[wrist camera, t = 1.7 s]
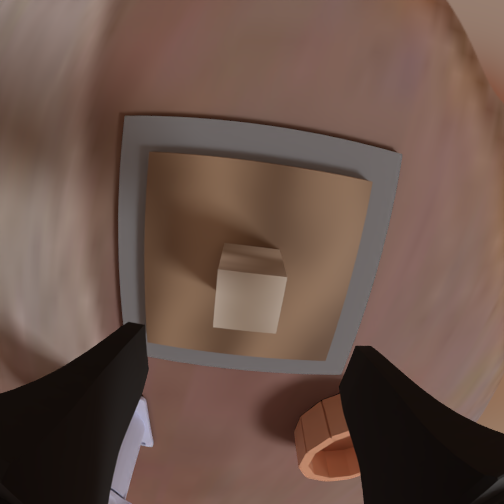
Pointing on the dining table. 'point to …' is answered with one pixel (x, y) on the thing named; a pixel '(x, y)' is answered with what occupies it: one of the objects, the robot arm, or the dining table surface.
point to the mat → (265, 150)
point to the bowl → (325, 443)
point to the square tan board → (248, 254)
